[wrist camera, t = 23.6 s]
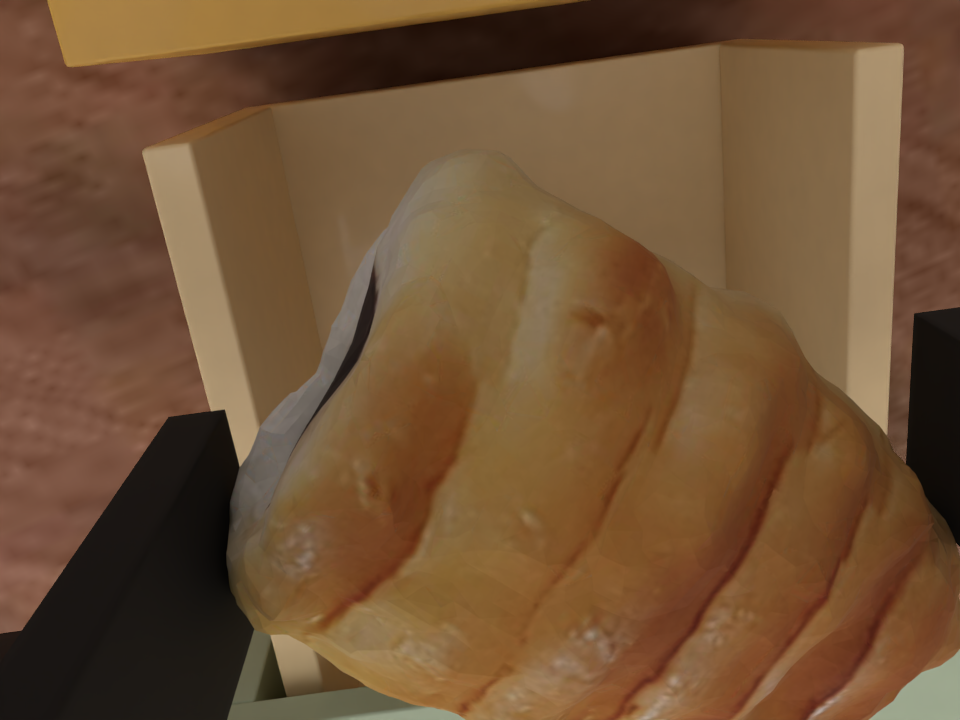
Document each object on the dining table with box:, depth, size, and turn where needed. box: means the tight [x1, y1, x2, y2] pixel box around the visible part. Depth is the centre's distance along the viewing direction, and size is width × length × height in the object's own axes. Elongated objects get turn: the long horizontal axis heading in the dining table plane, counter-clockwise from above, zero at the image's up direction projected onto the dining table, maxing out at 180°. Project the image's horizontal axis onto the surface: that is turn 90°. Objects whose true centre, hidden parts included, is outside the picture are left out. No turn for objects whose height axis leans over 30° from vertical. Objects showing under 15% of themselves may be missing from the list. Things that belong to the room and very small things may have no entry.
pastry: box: [226, 149, 960, 720], centre depth 11 cm, size 9×7×4 cm
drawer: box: [47, 0, 904, 697], centre depth 18 cm, size 22×13×8 cm, turn 7°
